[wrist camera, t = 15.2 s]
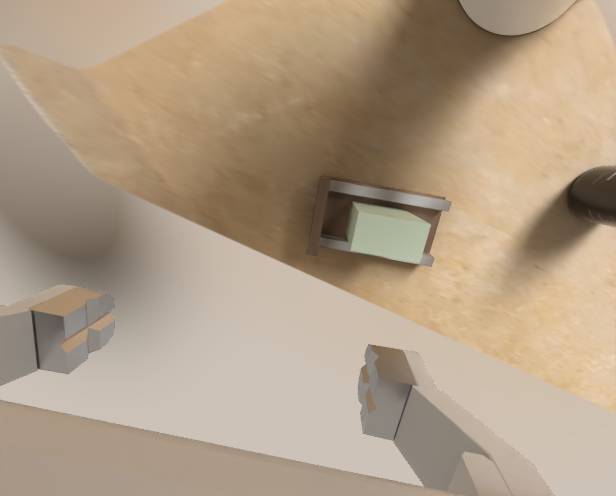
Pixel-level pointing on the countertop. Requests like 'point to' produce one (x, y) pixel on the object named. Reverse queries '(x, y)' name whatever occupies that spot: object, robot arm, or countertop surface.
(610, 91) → the countertop surface
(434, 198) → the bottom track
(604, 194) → the supplement bottle
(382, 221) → the pale green block
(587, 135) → the countertop surface
